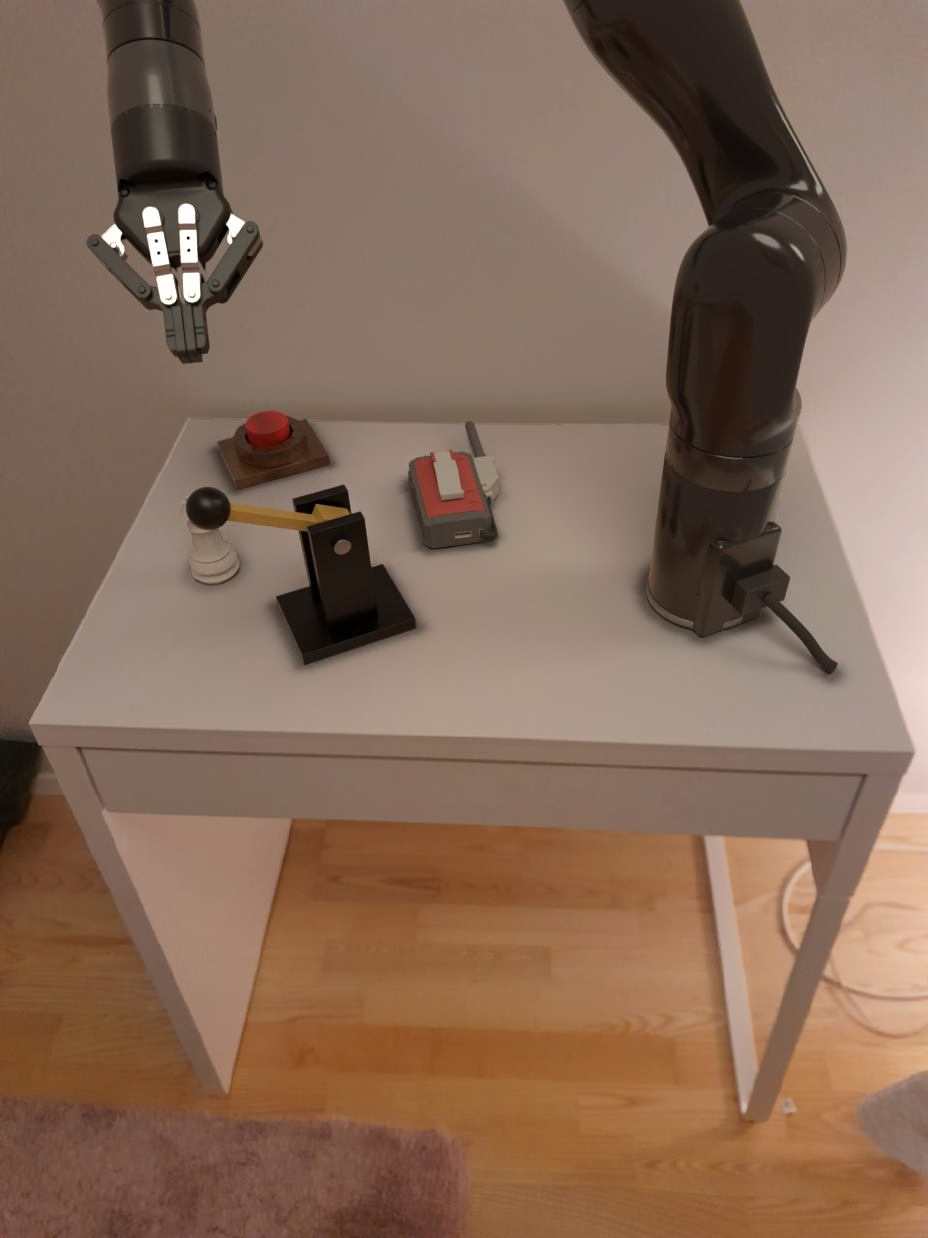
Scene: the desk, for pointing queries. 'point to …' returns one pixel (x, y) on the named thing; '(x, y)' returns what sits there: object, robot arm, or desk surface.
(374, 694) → the desk surface
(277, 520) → the lever
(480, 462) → the walkie-talkie
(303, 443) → the block
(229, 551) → the rook chess piece
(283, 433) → the button
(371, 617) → the black lever base
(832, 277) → the robot arm
